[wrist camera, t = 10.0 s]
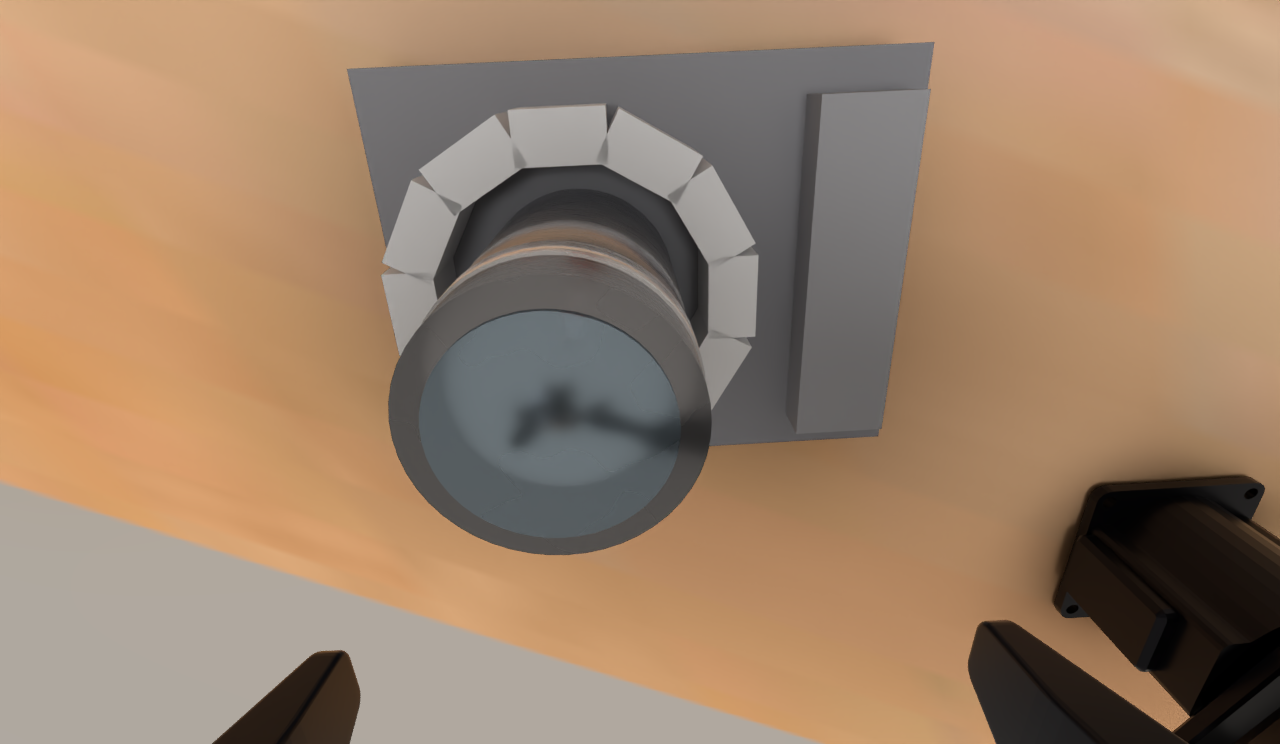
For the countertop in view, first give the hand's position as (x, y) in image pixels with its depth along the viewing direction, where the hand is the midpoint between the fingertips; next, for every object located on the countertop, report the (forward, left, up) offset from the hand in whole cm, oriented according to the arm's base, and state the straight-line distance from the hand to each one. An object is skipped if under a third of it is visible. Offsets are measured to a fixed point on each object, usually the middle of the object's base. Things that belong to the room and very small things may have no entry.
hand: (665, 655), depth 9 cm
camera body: (0, -3, -13) cm, 13 cm away
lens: (+1, -3, -10) cm, 11 cm away
